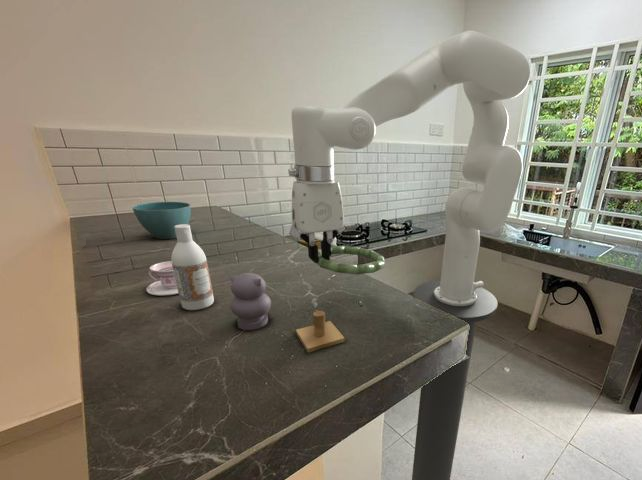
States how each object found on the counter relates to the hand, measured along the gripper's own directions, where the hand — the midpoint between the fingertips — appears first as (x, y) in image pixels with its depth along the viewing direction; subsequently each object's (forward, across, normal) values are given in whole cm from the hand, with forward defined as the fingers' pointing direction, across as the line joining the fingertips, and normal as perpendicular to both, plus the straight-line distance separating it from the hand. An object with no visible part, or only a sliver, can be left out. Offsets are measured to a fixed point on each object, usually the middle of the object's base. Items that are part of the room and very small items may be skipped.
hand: (320, 259), depth 72 cm
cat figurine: (+15, -15, +5) cm, 21 cm away
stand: (+15, -4, -8) cm, 17 cm away
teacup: (+15, -29, +34) cm, 47 cm away
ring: (+1, +7, 0) cm, 7 cm away
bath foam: (+15, -25, +20) cm, 35 cm away
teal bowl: (+15, -30, +88) cm, 94 cm away
